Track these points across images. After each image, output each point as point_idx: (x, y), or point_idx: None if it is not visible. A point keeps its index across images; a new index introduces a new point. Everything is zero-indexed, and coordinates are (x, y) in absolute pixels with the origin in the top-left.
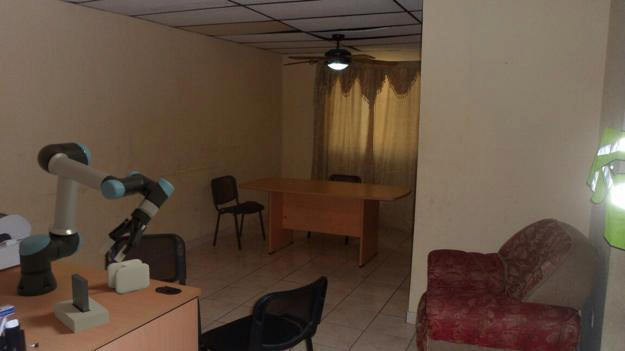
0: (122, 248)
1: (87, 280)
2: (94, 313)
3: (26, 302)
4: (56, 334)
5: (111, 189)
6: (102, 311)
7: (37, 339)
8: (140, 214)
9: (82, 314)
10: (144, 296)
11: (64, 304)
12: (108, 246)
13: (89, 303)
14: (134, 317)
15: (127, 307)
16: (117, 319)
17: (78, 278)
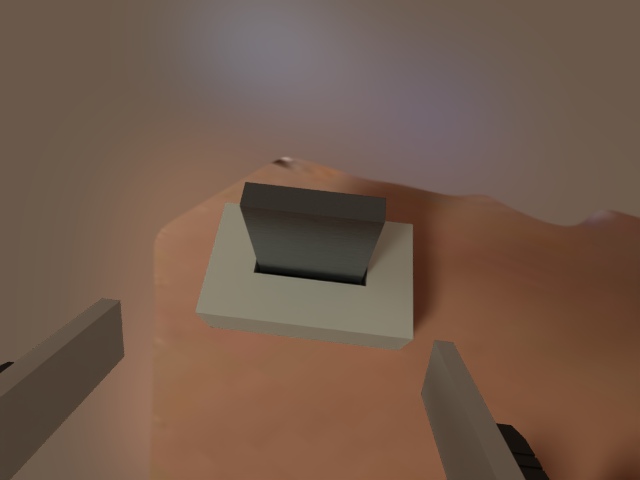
0: (7, 378)
1: (240, 205)
2: (220, 267)
3: (594, 250)
4: None
5: None
6: (209, 293)
7: (305, 172)
8: None
9: (247, 239)
10: None
11: (380, 242)
12: (452, 448)
13: (319, 301)
14: (190, 433)
15: (298, 475)
16: (232, 376)
17: (304, 193)
